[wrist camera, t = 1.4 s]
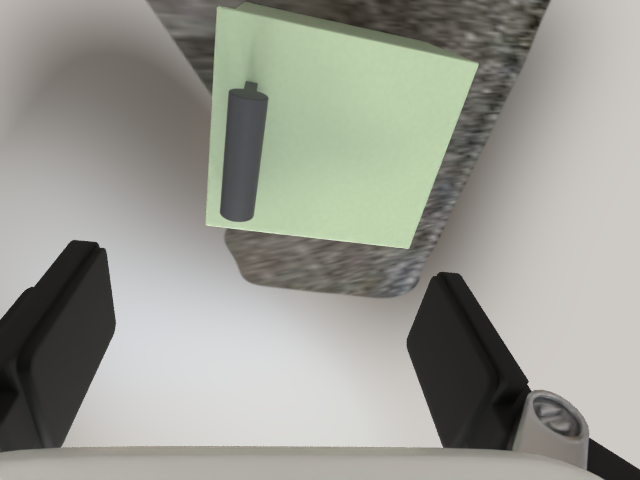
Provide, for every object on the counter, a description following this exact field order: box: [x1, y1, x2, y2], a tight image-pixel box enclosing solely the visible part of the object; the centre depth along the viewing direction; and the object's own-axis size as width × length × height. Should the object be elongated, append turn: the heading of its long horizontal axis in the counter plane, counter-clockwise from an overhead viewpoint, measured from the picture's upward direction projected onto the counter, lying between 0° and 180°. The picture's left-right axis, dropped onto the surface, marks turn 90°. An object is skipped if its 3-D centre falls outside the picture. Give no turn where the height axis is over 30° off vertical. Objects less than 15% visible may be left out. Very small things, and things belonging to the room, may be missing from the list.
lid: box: [205, 6, 479, 249], centre depth 24 cm, size 15×14×5 cm
